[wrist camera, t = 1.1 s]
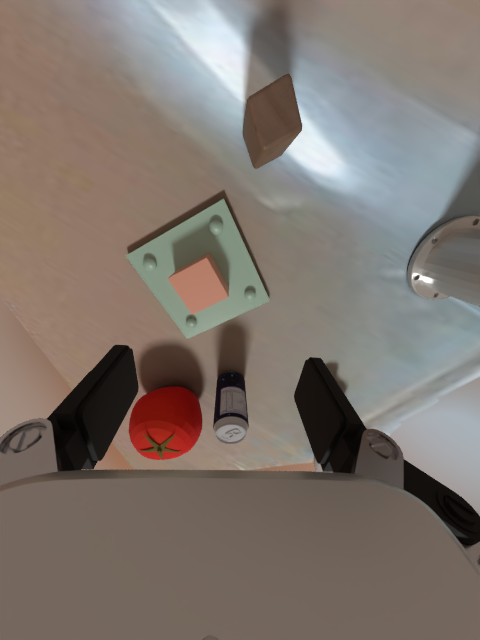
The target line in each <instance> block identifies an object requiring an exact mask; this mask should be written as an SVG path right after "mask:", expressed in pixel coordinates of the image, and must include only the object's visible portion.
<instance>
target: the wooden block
mask: <svg viewBox="0 0 480 640" xmlns="http://www.w3.org/2000/svg"><path fill="white" fill-rule="evenodd" d="M301 131H302V123H301V118H300V114H299V110H298V105H297V101H296V96H295V92H294V87H293V83H292V78H291V76H290V74H286V75H284V76H282V77H281V78H279V79H277V80H276V81H274V82H273V83H271V84H269V85H268V86H266V87H264V88H263V89H261V90H259V91H258V92H256V93H255V94H253V95H251V96H250V97H249V98H248V100H247V105H246V112H245V119H244V127H243V138H244V141H245V144H246V147H247V150H248V153H249V156H250V159H251V162H252V164H253V167H254V168H259V167H261V166H263V165H265V164H266V163H268V162H270V161H272V160H274V159H276V158H277V157H279V156H281V155H282V154H283V153H284V151H285V150H286V149H287V148H288V147H289V145H290V144H291V143H292V142H293V140H294V139H295V138H296V137H297V136H298V134H299V133H300V132H301Z"/></svg>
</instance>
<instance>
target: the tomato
mask: <svg viewBox="0 0 480 640" xmlns="http://www.w3.org/2000/svg"><path fill="white" fill-rule="evenodd" d="M201 430H202V413H201V408H200V403H199V401H198V398H197V397H196V395H195V394H194V393H193V392H192V391H190V390H188V389H186V388H183V387H177V386H173V387H164V388H160V389H156V390H154V391H151V392H149V393H147V394H146V395H144V396H142V397H141V398H140V399H139V400H138V401H137V403H136V404H135V406H134V408H133V410H132V413H131V417H130V423H129V434H130V439H131V442H132V444H133V446H134V447H135V448H136V450H137V452H139V453H140V454H141V455H143V456H144V457H147V458H149V459H155V460H165V459H172V458H176V457H178V456H181V455H182V454H184V453H186V452H188V451H189V450H190V449H191V448H192V447H193V446H194V445H195V443H196V442H197V440H198V438H199V436H200V433H201Z"/></svg>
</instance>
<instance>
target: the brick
mask: <svg viewBox="0 0 480 640" xmlns="http://www.w3.org/2000/svg"><path fill="white" fill-rule="evenodd" d="M168 280H169V282H170V283H171V285H172V286H173V288H174V289H175V290H176V292H177V293H178V295H179V296H180V298H181V299H182V301H183V302H184V304H185V305H186V307H187V308H188V310H189V311H190V312H191V314H192V315H193V314H195V313H197V312H199V311H201V310H203V309H205V308H207V307H209V306H211V305H214V304H216V303H218V302H220V301H222V300H224V299H226V298H228V297H229V287H228V285H227V283H226V282H225V280H224V278H223V276H222V274H221V272H220V271H219V269H218V267H217V265H216V263H215V261H214V260H213V258H212V256H211V254H210V253H208V254H206V255H204V256H202V257H201V258H199V259H197V260H195V261H193V262H191V263H189V264H188V265H186V266H184V267H182V268H180V269H178V270H176V271H175V272H174V273H173V274H172V275H171V276H170V277H169V278H168Z"/></svg>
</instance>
